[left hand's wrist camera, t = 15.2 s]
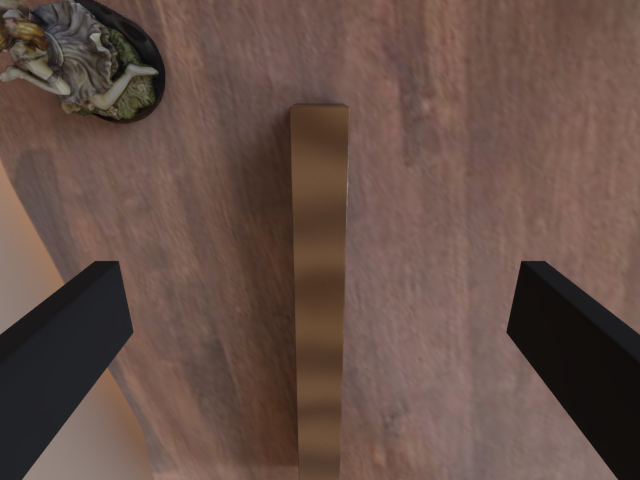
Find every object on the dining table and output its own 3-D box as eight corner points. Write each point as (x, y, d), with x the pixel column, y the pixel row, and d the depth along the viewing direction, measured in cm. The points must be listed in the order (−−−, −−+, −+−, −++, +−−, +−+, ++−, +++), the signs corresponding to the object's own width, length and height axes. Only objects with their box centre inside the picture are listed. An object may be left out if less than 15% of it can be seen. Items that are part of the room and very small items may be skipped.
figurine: (18, 48, 37) (-161, 23, 23) (94, -32, 35) (-55, -113, 21) (111, 148, 41) (2, 178, 27) (186, 81, 38) (110, 76, 24)
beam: (295, 103, 39) (289, 106, 32) (344, 103, 39) (350, 107, 32) (302, 466, 58) (299, 522, 50) (335, 466, 58) (338, 522, 50)
